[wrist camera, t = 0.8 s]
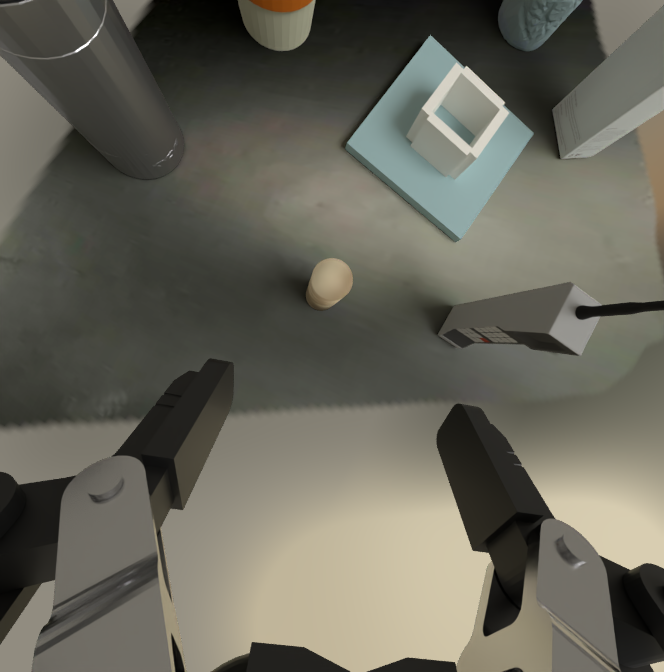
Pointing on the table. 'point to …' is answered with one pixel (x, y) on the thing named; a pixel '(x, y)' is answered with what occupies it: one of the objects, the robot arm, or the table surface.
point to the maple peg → (328, 284)
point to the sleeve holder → (440, 139)
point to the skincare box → (614, 94)
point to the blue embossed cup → (532, 20)
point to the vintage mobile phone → (535, 319)
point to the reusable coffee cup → (278, 21)
